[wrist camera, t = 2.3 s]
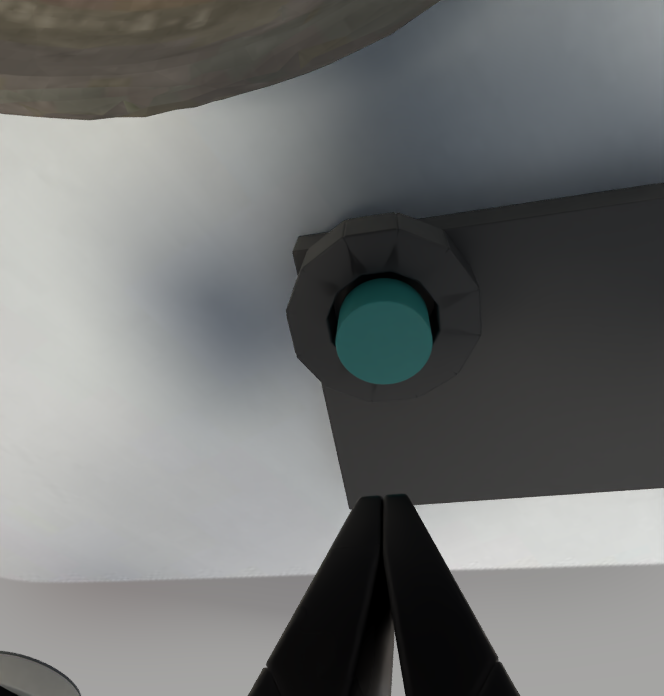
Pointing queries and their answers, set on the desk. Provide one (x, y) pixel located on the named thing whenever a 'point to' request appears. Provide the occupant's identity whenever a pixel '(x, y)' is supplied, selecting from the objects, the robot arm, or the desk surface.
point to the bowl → (173, 50)
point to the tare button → (383, 331)
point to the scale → (500, 349)
